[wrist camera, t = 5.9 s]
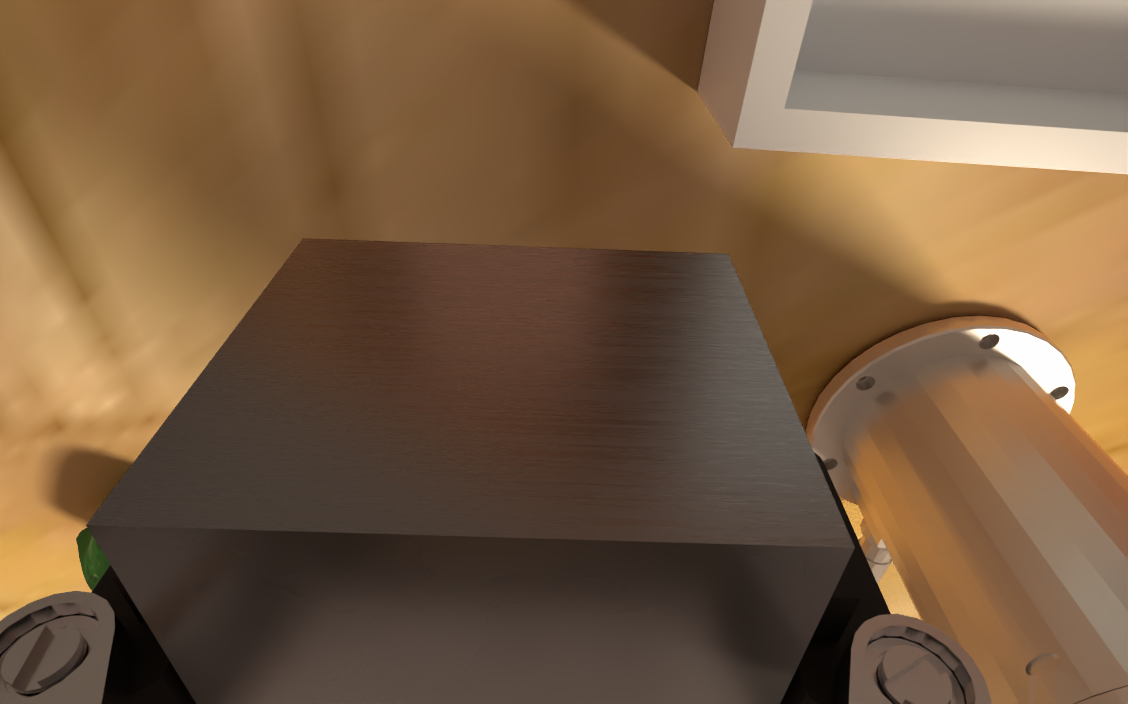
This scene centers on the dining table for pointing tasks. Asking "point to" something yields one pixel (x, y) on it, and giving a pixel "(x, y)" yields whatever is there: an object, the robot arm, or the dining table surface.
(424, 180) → the dining table surface
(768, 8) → the tote
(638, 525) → the block
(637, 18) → the dining table surface
